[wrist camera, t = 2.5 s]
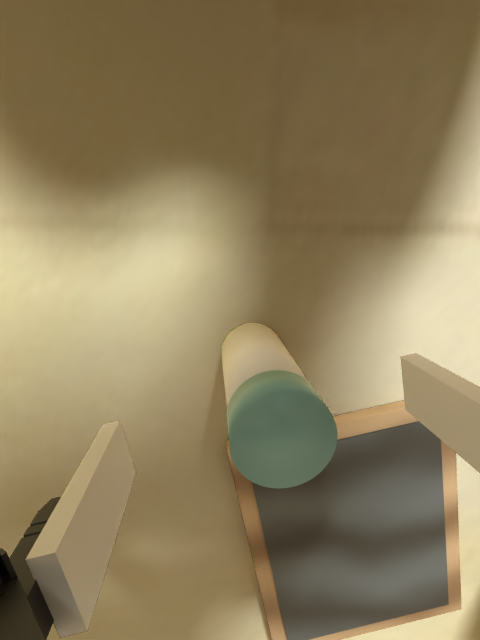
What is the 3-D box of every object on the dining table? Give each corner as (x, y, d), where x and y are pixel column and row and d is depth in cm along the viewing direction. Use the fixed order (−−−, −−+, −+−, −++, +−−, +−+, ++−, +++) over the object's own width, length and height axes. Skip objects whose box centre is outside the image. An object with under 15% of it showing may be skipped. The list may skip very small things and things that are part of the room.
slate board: (225, 440, 24) (226, 450, 23) (444, 391, 24) (456, 398, 23) (273, 641, 29) (276, 658, 28) (453, 596, 29) (463, 611, 28)
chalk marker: (214, 329, 22) (218, 405, 12) (277, 316, 22) (330, 380, 12) (227, 386, 23) (241, 498, 13) (287, 373, 23) (343, 475, 13)
